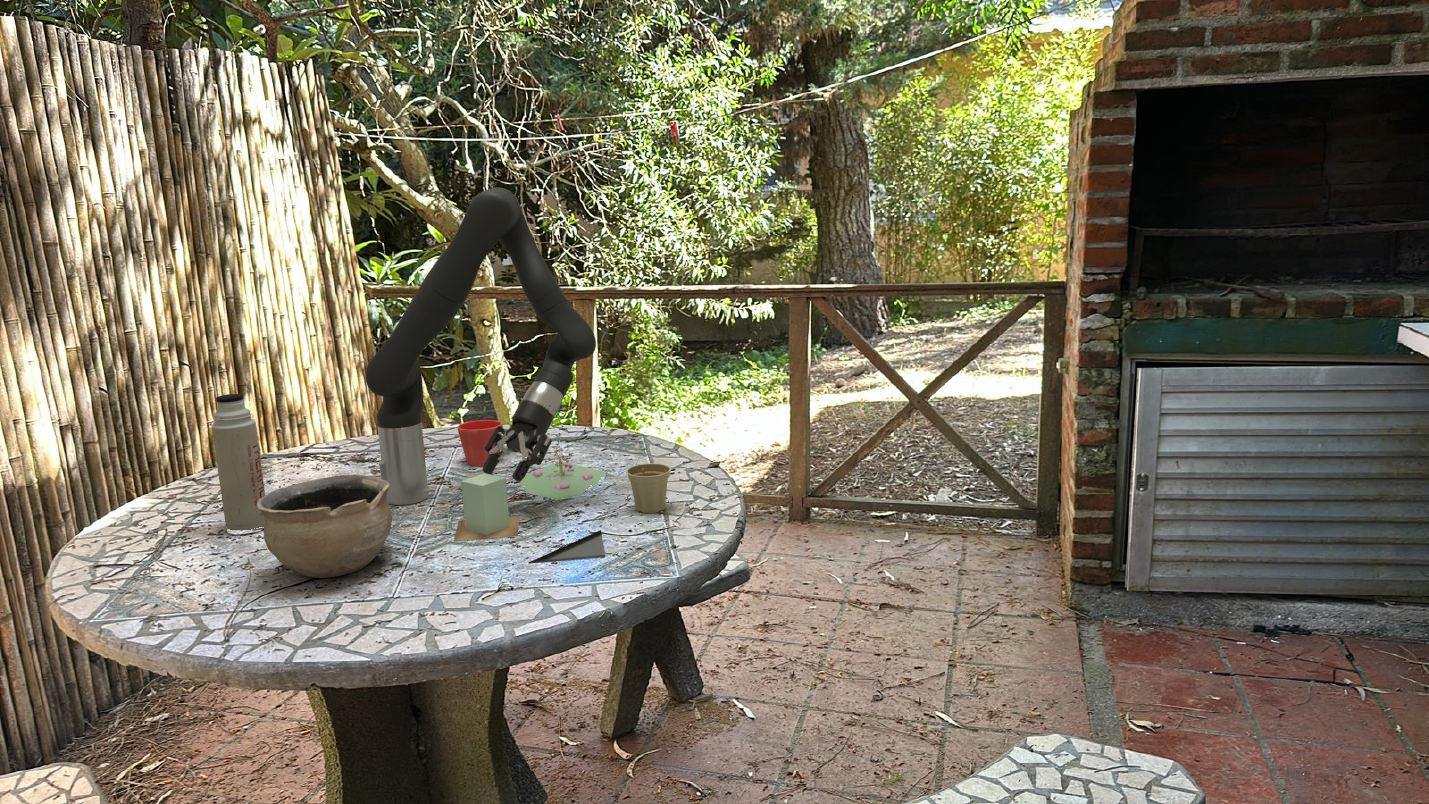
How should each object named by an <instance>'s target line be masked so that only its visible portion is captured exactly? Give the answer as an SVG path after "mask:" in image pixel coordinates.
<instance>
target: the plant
mask: <svg viewBox="0 0 1429 804" xmlns="http://www.w3.org/2000/svg"><path fill="white" fill-rule="evenodd" d="M555 445H556V447H553V449H554V450H553V453H554V457H556V458H554V459H551V458H550V457H548V458H547V460H545V461H544V463H545V464H548V463H549V462H551V463H553V464H550V465H547V466H545V467H543V468H539V469H536V470H534V471H532V472H530V473H528V474H526V475H525V477H524V478H523V479H522V481H521V482H519V484H520V486H522V485H524V486H525V487H522V488H523V489H524V491H525V492H526V493H527V494H529V495H533V496H539V497H543V498H548V499H552V500H557V501H558V500H559V501H560V500H565V499H568V498H570V499H571V498H574V497H577V496H579V495H578V494H580V495H581V494H584V493H585V491H586V489H588V488H589V487H591V486H590V485H596V484H598V482H599V480H600V479H601V477H606V478H607V474H606V472H605V471H602V470H599V469H594V468H592V467H588V466H582V465H577V464H571V463H569V462H570V460H569V459H568V460H565V458H564V455H563V454H562V455H561V454H560V453H561V452H564V450H563V448H562V447H561V448H560V449H559V450H558V446H560V445H559V443H555ZM558 453H559V454H558ZM563 461H565V463H564V462H563ZM598 485H599V484H598ZM596 486H597V485H596ZM586 492H587V491H586ZM573 496H574V497H573Z"/></svg>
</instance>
